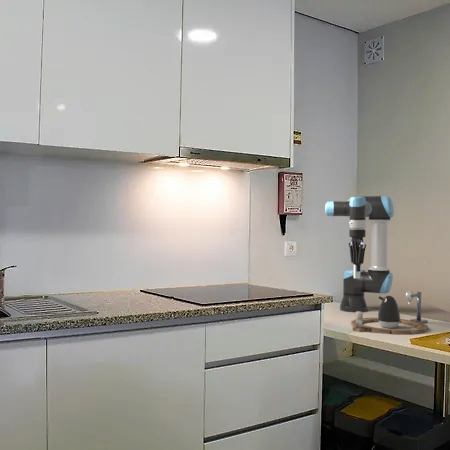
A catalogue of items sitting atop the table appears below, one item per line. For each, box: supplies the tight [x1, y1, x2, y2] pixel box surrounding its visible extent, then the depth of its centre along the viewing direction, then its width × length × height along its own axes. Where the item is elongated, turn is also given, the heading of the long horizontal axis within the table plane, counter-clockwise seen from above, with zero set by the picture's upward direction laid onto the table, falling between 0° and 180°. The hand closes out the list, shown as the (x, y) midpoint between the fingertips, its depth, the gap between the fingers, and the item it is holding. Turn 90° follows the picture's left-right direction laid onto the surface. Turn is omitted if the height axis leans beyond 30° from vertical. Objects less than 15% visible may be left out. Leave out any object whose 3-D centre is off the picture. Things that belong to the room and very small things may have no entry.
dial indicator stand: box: [404, 290, 428, 324], centre depth 274 cm, size 14×6×16 cm, turn 126°
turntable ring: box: [350, 311, 429, 335], centre depth 261 cm, size 34×38×8 cm
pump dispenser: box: [377, 295, 401, 329], centre depth 262 cm, size 10×10×15 cm
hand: (356, 278), depth 265 cm, fingers closed
